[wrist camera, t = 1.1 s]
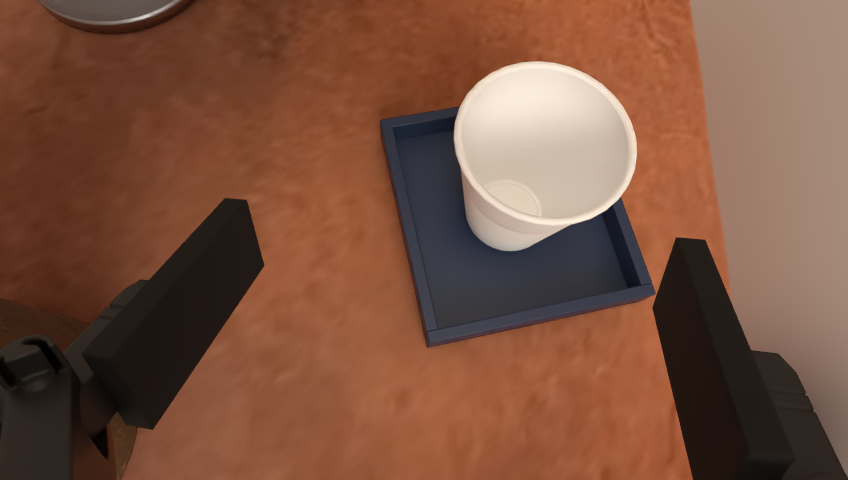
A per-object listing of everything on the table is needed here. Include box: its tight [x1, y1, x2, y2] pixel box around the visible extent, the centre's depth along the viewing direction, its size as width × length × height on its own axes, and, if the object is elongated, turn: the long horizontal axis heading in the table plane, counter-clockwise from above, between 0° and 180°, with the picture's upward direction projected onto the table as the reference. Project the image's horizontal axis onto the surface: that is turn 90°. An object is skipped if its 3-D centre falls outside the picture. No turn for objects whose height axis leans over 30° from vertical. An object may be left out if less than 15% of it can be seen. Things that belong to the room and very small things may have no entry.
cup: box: [454, 61, 637, 251], centre depth 33 cm, size 10×10×11 cm
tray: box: [380, 107, 656, 348], centre depth 37 cm, size 17×16×2 cm
